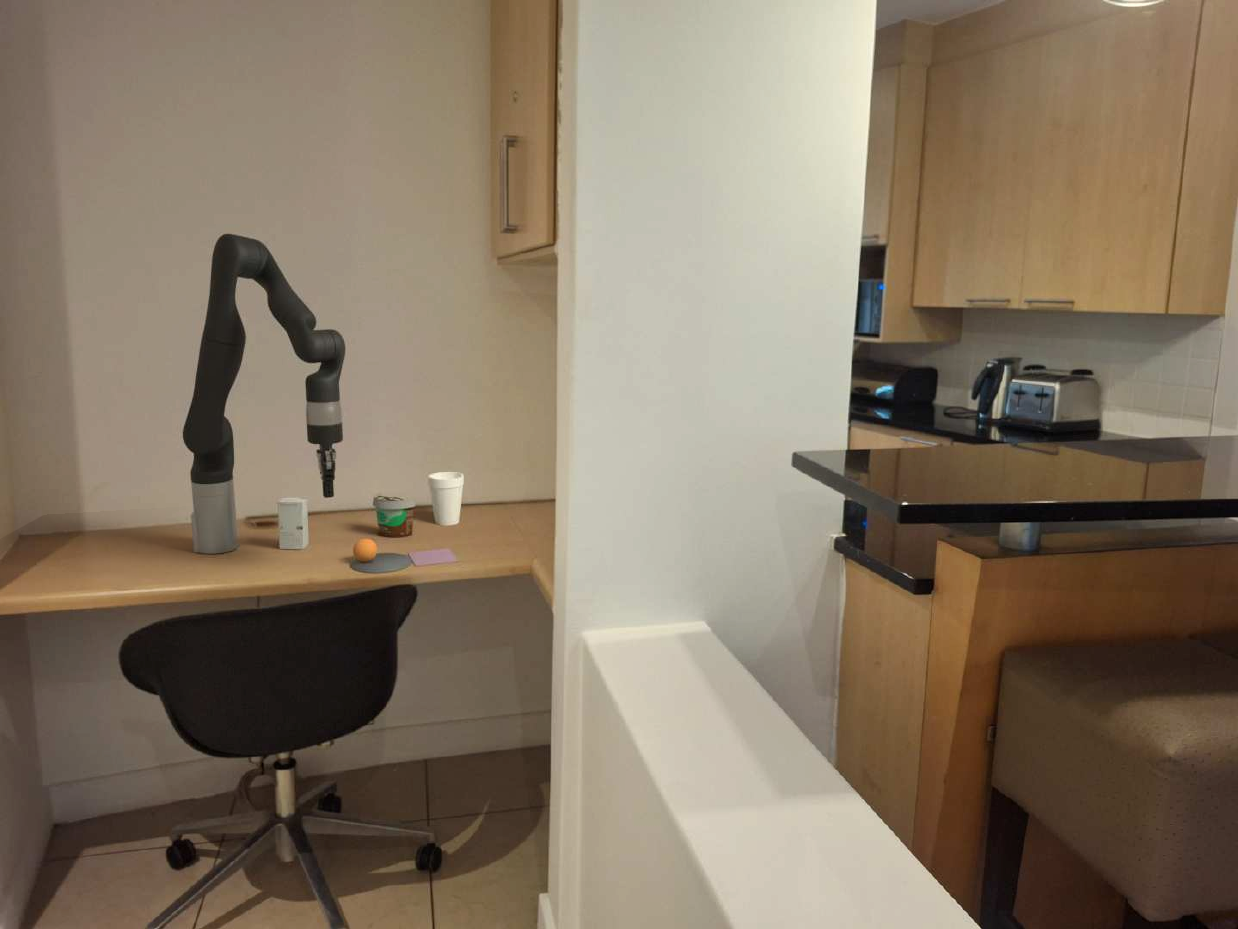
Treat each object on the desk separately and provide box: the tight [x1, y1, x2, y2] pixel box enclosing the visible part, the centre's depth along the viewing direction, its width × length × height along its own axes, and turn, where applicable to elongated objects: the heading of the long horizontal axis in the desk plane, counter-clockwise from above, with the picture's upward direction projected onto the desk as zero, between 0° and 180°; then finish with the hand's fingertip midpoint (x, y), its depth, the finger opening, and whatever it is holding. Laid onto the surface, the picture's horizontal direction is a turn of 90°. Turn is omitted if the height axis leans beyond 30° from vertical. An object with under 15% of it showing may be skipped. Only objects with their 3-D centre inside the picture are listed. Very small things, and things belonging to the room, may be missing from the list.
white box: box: [277, 496, 309, 550], centre depth 217 cm, size 6×4×12 cm
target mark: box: [349, 552, 413, 574], centre depth 208 cm, size 14×14×1 cm
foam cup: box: [427, 471, 465, 526], centre depth 240 cm, size 10×9×13 cm
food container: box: [372, 492, 416, 539], centre depth 228 cm, size 12×6×10 cm, turn 62°
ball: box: [352, 538, 378, 562], centre depth 208 cm, size 6×6×6 cm
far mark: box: [407, 548, 459, 567], centre depth 212 cm, size 10×10×1 cm
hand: (328, 496), depth 200 cm, fingers closed
